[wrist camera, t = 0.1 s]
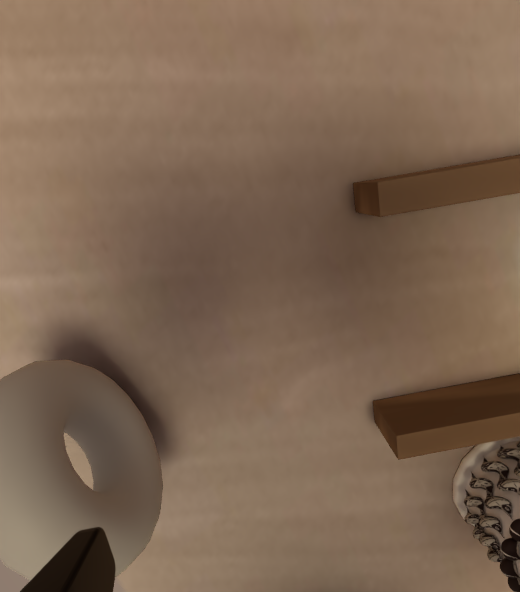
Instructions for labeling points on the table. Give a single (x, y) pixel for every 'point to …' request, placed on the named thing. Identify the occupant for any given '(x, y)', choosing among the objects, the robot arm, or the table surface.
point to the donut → (60, 473)
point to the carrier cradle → (461, 398)
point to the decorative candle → (493, 501)
